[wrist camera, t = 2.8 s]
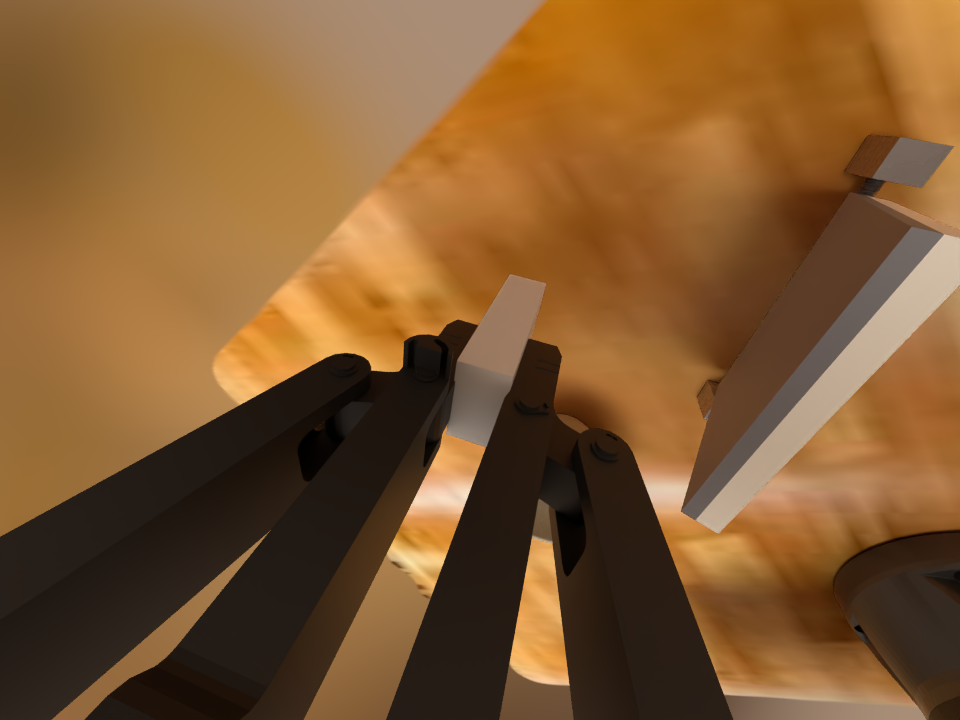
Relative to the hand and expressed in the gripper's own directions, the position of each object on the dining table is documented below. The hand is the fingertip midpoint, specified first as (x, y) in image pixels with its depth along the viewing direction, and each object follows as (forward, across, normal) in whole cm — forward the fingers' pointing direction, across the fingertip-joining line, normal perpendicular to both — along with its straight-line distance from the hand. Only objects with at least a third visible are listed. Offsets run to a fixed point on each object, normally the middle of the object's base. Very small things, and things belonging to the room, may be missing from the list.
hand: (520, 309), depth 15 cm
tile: (+3, -11, 0) cm, 11 cm away
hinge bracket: (+11, -14, 0) cm, 18 cm away
